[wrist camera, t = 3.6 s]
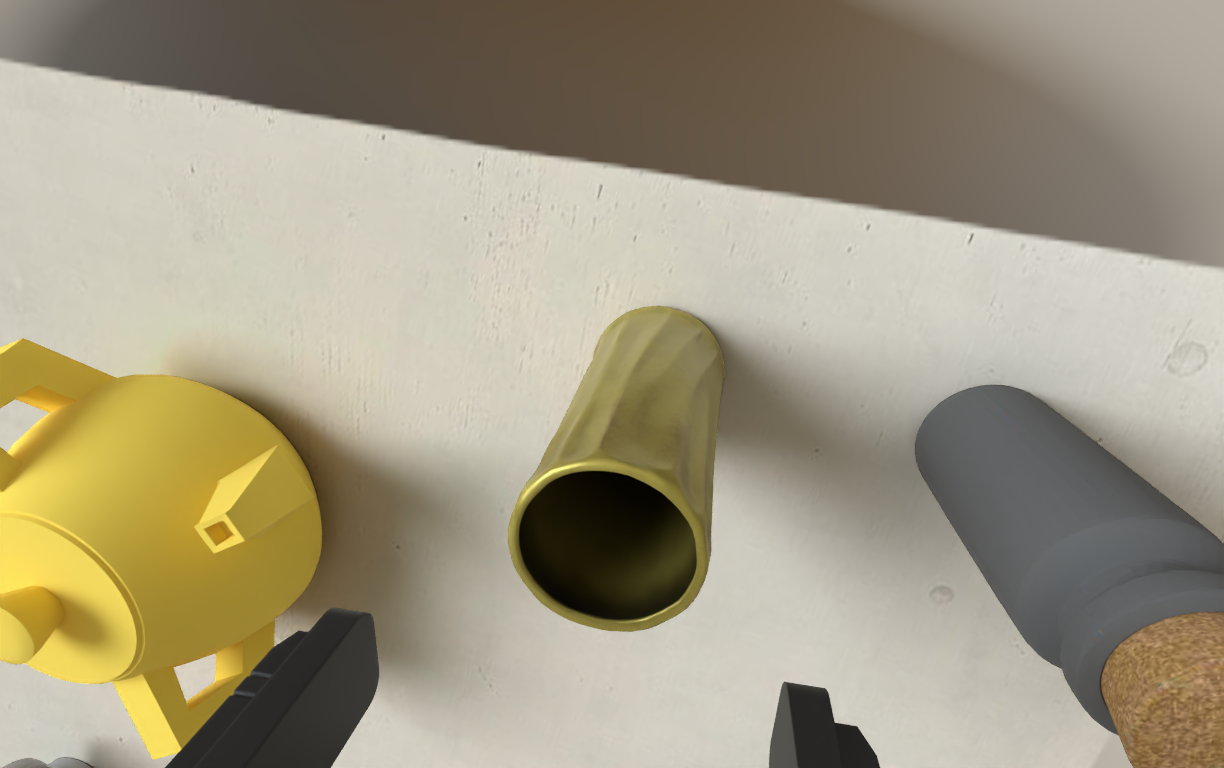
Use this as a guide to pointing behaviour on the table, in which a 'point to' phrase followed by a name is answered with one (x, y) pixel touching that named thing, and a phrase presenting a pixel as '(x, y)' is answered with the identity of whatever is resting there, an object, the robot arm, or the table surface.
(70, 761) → the mug
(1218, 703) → the bottle
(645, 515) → the vase
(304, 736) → the robot arm
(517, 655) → the table surface
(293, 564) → the teapot
